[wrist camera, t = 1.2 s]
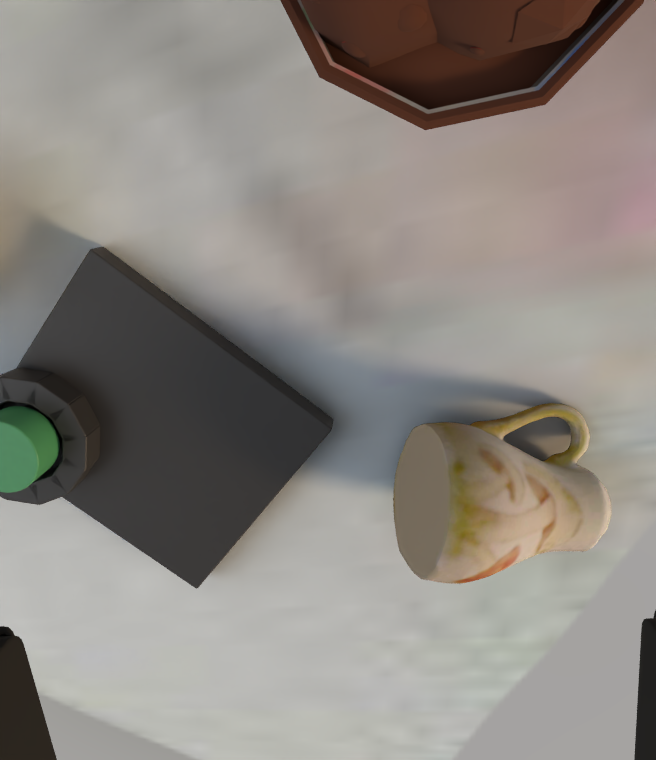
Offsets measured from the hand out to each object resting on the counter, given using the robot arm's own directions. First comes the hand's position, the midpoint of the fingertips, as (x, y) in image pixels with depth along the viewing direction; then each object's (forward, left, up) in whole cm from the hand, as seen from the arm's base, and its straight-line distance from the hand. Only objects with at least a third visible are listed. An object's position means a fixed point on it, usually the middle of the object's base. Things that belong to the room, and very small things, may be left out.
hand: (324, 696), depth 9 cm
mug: (+9, -1, -22) cm, 24 cm away
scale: (-6, -10, -22) cm, 25 cm away
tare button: (-10, -14, -19) cm, 26 cm away
